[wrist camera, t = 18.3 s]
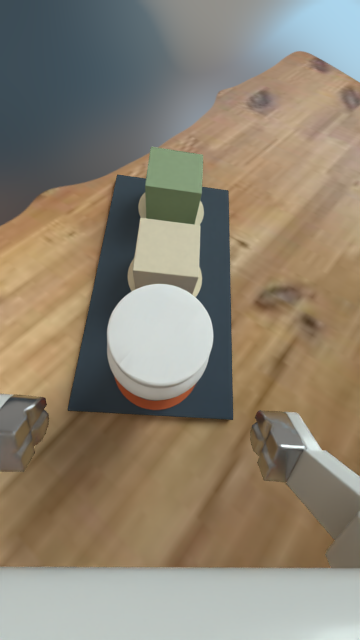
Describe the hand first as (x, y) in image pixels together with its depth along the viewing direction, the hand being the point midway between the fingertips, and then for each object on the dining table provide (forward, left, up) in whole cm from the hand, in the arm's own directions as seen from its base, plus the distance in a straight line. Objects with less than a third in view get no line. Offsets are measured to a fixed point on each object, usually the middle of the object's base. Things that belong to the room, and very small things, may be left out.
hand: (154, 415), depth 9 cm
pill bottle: (-2, -3, -10) cm, 10 cm away
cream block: (-6, -11, -10) cm, 15 cm away
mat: (-6, -11, -10) cm, 16 cm away
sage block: (-10, -18, -10) cm, 23 cm away
